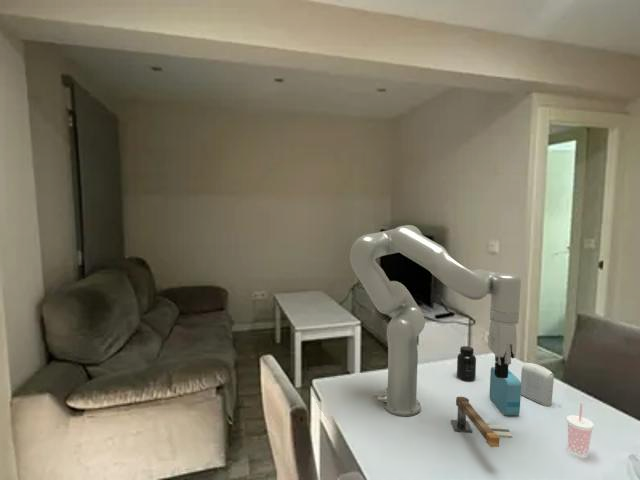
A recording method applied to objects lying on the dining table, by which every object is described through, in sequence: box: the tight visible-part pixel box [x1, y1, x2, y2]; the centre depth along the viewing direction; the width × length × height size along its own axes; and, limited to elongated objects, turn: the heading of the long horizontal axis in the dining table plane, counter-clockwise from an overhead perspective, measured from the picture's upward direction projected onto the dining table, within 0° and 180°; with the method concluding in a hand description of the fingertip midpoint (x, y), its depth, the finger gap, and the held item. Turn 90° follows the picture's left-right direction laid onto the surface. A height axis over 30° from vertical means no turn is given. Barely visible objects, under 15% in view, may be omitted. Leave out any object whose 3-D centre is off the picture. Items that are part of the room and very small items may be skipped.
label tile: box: [487, 424, 513, 439], centre depth 115 cm, size 7×5×1 cm
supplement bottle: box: [456, 345, 477, 382], centre depth 150 cm, size 7×7×12 cm
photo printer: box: [520, 362, 555, 407], centre depth 134 cm, size 10×4×12 cm, turn 31°
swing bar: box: [455, 396, 501, 448], centre depth 108 cm, size 21×4×2 cm, turn 3°
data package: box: [489, 366, 522, 416], centre depth 128 cm, size 12×4×12 cm, turn 0°
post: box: [450, 406, 473, 434], centre depth 117 cm, size 5×5×7 cm
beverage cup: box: [566, 403, 595, 459], centre depth 105 cm, size 6×6×14 cm
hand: (501, 376), depth 113 cm, fingers closed
